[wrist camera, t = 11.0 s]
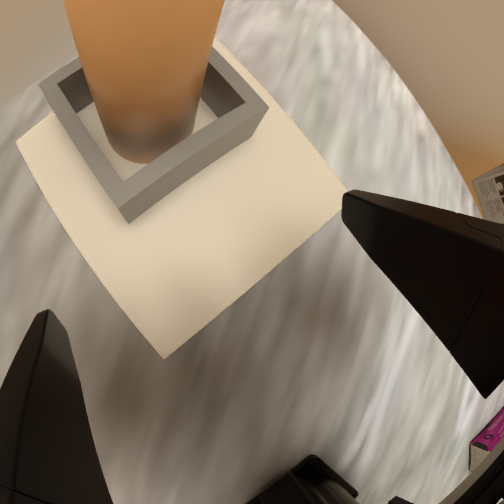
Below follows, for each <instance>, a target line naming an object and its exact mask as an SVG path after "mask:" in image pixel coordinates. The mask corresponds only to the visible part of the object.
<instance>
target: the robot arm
mask: <svg viewBox="0 0 504 504" xmlns="http://www.w3.org/2000/svg"><path fill="white" fill-rule="evenodd" d="M341 216H342V220H343V222H344V224H345V225H346V227H347V228H348V229H349V230H350V232H351V233H352V234H353V236H354V237H355V238H356V240H357V241H358V242H359V244H360V245H361V246H362V248H363V249H364V250H365V252H366V253H367V254H368V255H369V257H370V258H371V259H372V260H373V261H374V263H375V264H376V265H377V266H378V267H379V268H380V269H381V270H382V271H383V273H384V274H385V275H386V276H387V277H388V278H389V279H390V281H391V282H392V283H393V284H394V285H395V286H396V287H397V289H398V290H399V291H400V292H401V293H402V294H403V296H404V297H405V298H406V299H407V300H408V301H409V303H410V304H411V305H412V306H413V307H414V309H415V310H416V311H417V312H418V313H419V315H420V316H421V317H422V318H423V319H424V321H425V322H426V323H427V324H428V325H429V327H430V328H431V329H432V330H433V332H434V333H435V334H436V335H437V337H438V338H439V339H440V340H441V342H442V343H443V344H444V346H445V347H446V348H447V349H448V351H450V353H451V355H452V356H453V357H454V359H455V360H456V361H457V363H458V364H459V365H460V367H461V368H462V369H463V371H464V372H465V373H466V375H467V376H468V377H469V379H470V380H471V381H472V383H473V384H474V386H475V387H476V388H477V390H478V391H479V393H480V394H481V395H482V396H483V398H484V399H486V398H487V397H488V396H489V395H490V394H491V393H492V392H493V391H494V390H495V389H496V388H497V387H498V386H499V385H500V383H501V382H502V381H503V380H504V224H501V223H497V222H492V221H488V220H484V219H480V218H476V217H472V216H468V215H464V214H461V213H456V212H453V211H449V210H445V209H441V208H437V207H433V206H429V205H425V204H420V203H416V202H412V201H407V200H403V199H398V198H394V197H389V196H384V195H380V194H375V193H370V192H365V191H360V190H351V191H348V192H346V193H344V194H343V196H342V213H341ZM312 461H315V462H314V463H312V464H311V462H312ZM351 494H352V495H351ZM357 496H358V492H357V491H356V490H355V489H354V488H353V487H352V486H351V485H349V484H348V483H347V482H346V481H345V480H344V479H342V478H341V477H340V476H339V475H338V474H337V473H336V472H335V471H333V470H332V469H331V468H330V467H329V466H328V465H327V464H326V463H324V462H323V461H322V460H321V459H320V458H319V457H318V456H316V455H311V456H309V457H307V458H306V459H305V460H304V461H303V462H301V463H300V464H299V465H298V466H296V467H295V468H294V469H293V470H292V471H290V472H289V473H288V474H287V475H285V476H284V477H283V478H281V479H280V480H279V481H278V482H276V483H275V484H274V485H272V486H271V487H270V488H268V489H267V490H266V491H264V492H263V493H262V494H260V495H259V496H257V497H256V498H255V499H253V500H252V501H250V502H249V503H247V504H359V503H358V502H357V501H356V500H355V498H356V497H357ZM501 498H503V499H504V437H503V438H502V439H501V440H500V442H499V443H498V444H497V445H496V446H495V447H494V449H493V450H492V451H491V452H490V453H489V454H488V456H487V457H486V458H485V459H484V460H483V461H482V462H481V463H480V464H479V465H478V467H477V468H476V469H475V470H474V471H473V472H472V473H471V474H470V475H469V476H468V477H467V478H466V479H465V480H464V481H463V482H462V483H461V484H460V485H459V486H458V487H457V488H456V489H455V490H454V491H453V492H451V493H450V494H449V495H448V496H447V497H446V498H445V499H444V500H443V501H442V502H440V503H439V504H496V503H497V502H498V501H499V500H500V499H501ZM0 504H113V502H112V499H111V496H110V493H109V490H108V487H107V484H106V481H105V478H104V475H103V472H102V469H101V466H100V462H99V459H98V455H97V452H96V448H95V445H94V441H93V437H92V433H91V429H90V425H89V421H88V416H87V412H86V407H85V403H84V398H83V393H82V388H81V383H80V379H79V376H78V372H77V368H76V365H75V361H74V357H73V353H72V350H71V345H70V341H69V337H68V334H67V331H66V329H65V328H64V326H63V325H62V324H61V322H60V321H59V320H58V318H57V317H56V316H55V314H54V313H53V312H52V311H51V310H50V309H47V310H44V311H42V312H40V313H38V314H37V315H36V316H35V318H34V320H33V322H32V324H31V326H30V328H29V329H28V331H27V333H26V335H25V337H24V339H23V341H22V343H21V345H20V347H19V349H18V351H17V353H16V355H15V357H14V359H13V362H12V364H11V366H10V368H9V370H8V372H7V375H6V377H5V379H4V381H3V384H2V386H1V388H0ZM388 504H413V503H411V502H408V501H406V500H404V499H402V498H400V497H397V496H395V497H394V498H392V499H391V500H390V501H388ZM499 504H504V500H503V501H502V502H500V503H499Z"/></svg>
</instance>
